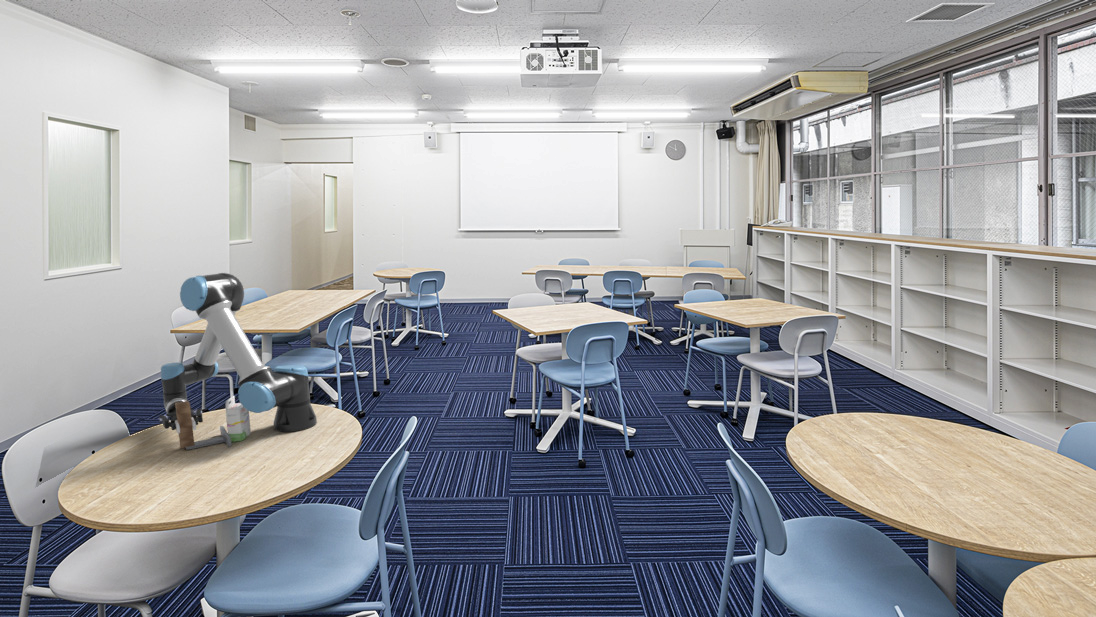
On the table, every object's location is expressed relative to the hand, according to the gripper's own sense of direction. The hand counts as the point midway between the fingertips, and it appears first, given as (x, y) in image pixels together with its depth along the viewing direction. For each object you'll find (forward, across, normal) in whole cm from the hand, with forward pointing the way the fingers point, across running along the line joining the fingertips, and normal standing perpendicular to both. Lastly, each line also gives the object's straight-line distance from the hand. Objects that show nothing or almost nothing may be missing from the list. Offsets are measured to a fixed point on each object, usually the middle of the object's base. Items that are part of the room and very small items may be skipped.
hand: (186, 427), depth 210 cm
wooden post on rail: (-5, -5, -9) cm, 12 cm away
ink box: (-6, -17, -9) cm, 20 cm away
